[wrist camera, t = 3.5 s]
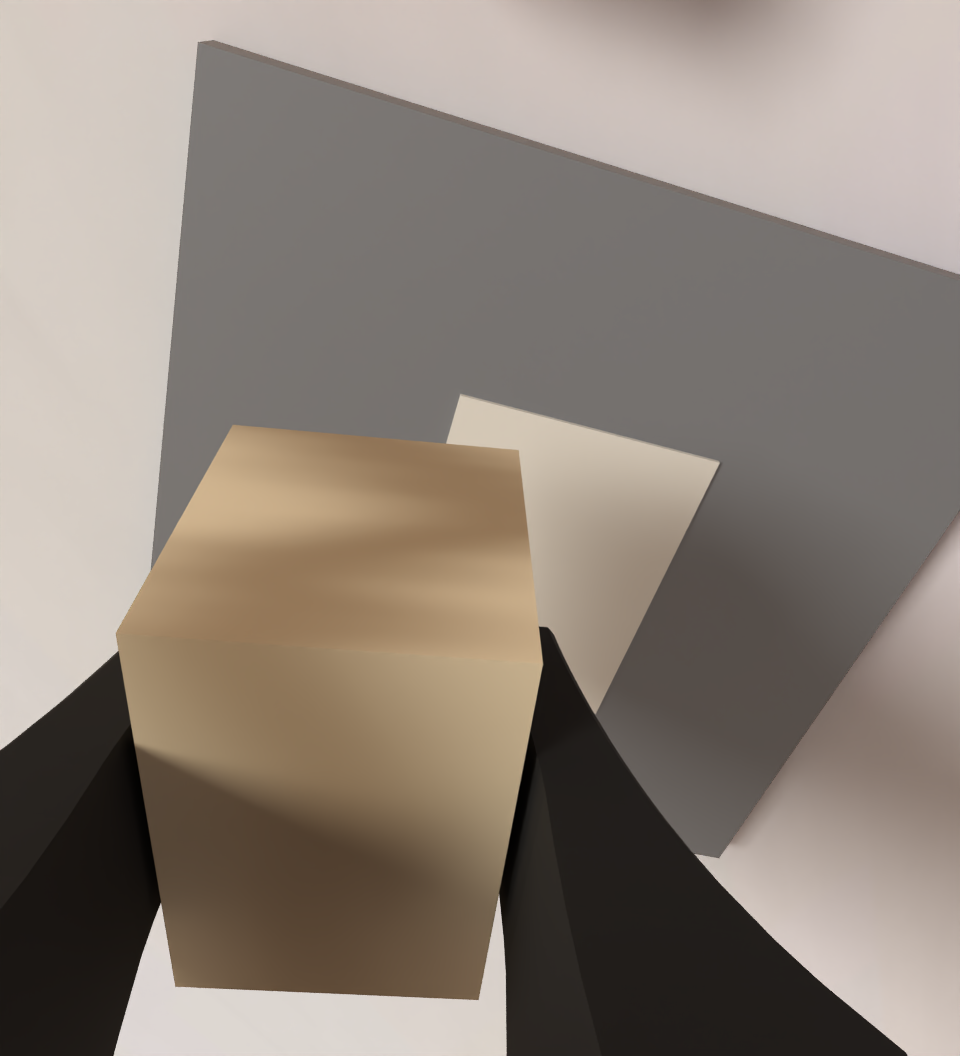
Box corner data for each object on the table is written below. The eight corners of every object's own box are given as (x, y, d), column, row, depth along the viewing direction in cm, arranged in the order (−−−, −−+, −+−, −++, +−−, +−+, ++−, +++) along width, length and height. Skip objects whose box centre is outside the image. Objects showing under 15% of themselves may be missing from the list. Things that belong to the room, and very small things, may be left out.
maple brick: (518, 450, 12) (543, 663, 8) (476, 746, 15) (478, 999, 11) (232, 424, 11) (116, 633, 8) (251, 731, 15) (175, 986, 11)
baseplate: (1061, 306, 18) (1092, 323, 17) (711, 831, 27) (719, 860, 26) (213, 40, 15) (196, 42, 14) (146, 727, 24) (133, 757, 23)
